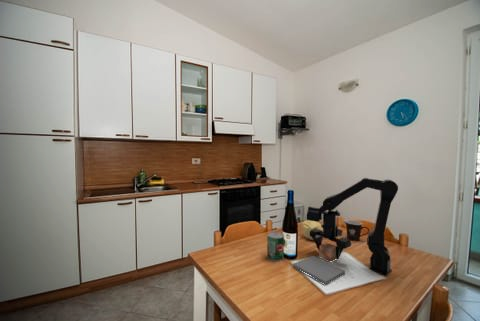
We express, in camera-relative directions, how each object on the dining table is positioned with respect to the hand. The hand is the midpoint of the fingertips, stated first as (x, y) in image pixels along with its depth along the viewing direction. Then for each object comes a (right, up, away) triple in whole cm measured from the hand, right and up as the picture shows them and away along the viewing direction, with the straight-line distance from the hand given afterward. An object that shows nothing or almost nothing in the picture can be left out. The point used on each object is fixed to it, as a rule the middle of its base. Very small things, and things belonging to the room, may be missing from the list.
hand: (328, 255), depth 102 cm
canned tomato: (-26, -1, 0) cm, 26 cm away
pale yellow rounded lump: (+1, -1, +25) cm, 25 cm away
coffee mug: (+26, -1, +23) cm, 34 cm away
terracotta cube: (0, -1, 0) cm, 1 cm away
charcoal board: (-9, -2, -11) cm, 15 cm away
